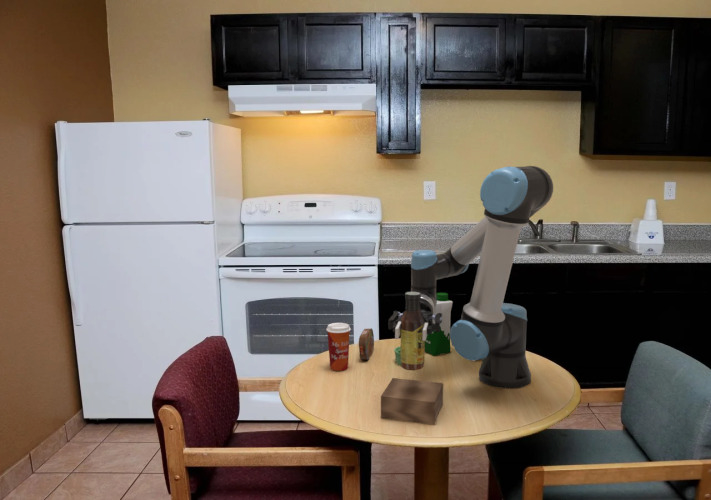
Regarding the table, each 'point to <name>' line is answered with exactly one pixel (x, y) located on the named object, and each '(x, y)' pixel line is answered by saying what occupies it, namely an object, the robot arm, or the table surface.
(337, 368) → the paper cup
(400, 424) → the table surface
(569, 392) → the table surface
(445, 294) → the milk carton
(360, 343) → the tin
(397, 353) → the ramekin
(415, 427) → the table surface
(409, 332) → the sauce bottle
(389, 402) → the walnut block
